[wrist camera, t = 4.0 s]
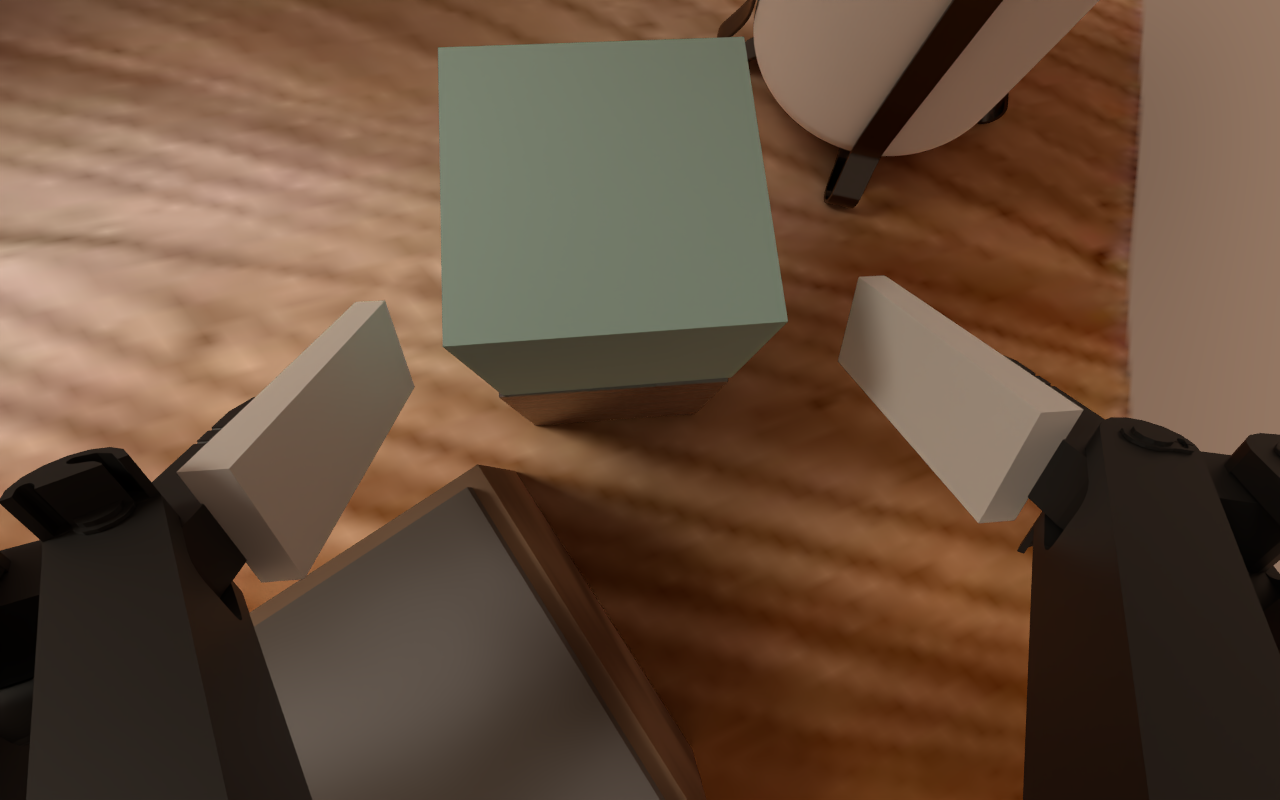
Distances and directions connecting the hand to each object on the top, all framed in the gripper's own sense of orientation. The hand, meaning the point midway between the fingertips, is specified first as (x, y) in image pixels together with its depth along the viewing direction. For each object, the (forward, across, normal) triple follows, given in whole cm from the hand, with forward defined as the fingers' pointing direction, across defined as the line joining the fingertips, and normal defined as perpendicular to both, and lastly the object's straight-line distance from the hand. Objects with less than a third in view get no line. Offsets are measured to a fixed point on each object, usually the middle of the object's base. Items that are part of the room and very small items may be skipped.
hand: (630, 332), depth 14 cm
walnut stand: (-3, -7, -14) cm, 16 cm away
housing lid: (+2, 0, +1) cm, 3 cm away
